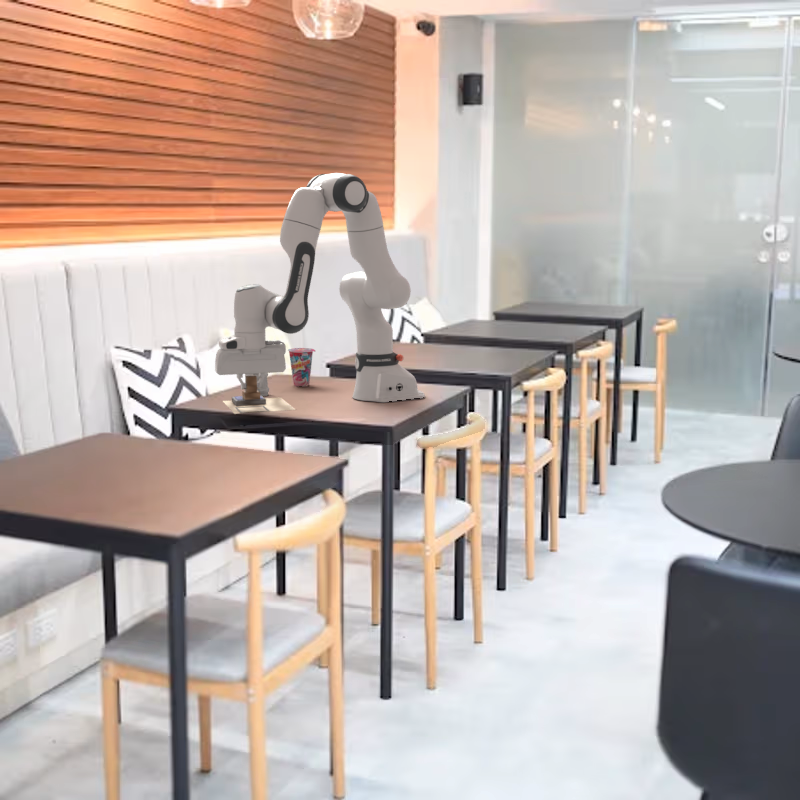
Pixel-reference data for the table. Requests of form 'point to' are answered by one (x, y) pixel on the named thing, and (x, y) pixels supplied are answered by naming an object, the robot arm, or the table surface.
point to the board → (257, 405)
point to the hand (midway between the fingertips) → (251, 388)
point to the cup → (301, 365)
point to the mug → (264, 384)
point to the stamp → (251, 389)
